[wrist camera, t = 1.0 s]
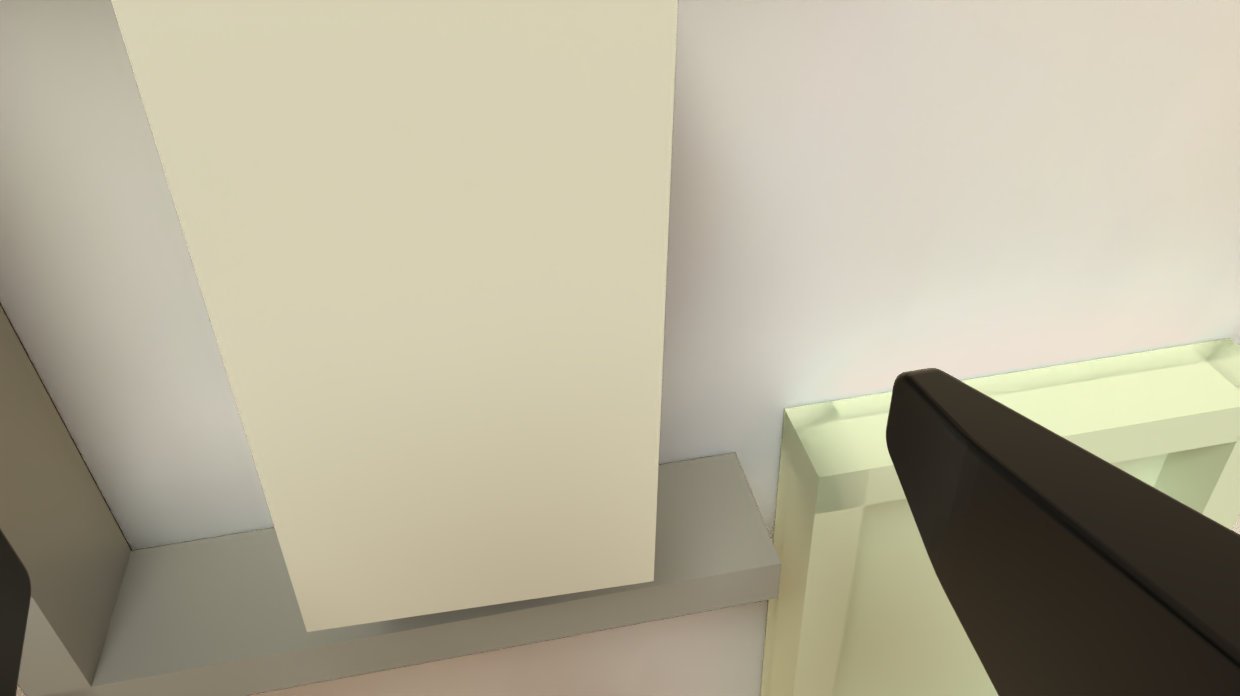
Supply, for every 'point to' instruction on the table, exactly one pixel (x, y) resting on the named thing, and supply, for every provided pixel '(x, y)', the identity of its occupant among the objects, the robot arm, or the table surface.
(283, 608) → the bay
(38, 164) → the table surface
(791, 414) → the tray
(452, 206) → the beige gray rectangular block
